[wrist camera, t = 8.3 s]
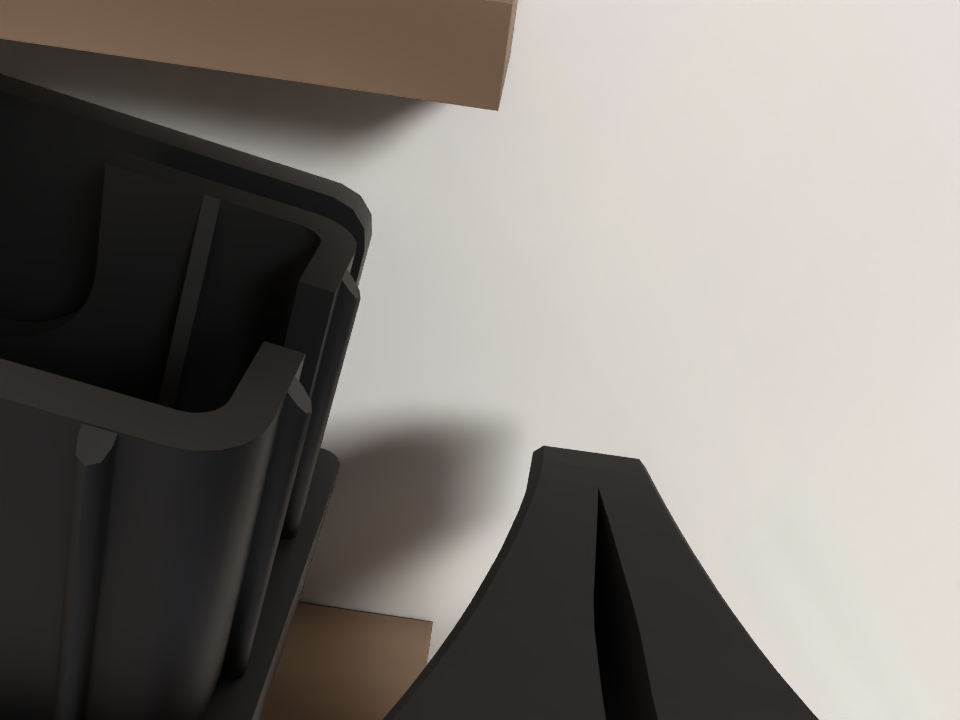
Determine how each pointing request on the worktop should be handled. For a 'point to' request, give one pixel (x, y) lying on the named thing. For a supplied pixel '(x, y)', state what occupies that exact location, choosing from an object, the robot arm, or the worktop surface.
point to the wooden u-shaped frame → (336, 63)
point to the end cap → (159, 409)
